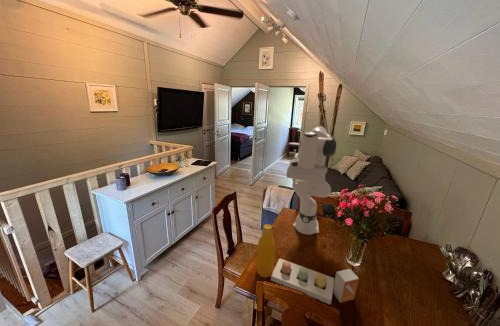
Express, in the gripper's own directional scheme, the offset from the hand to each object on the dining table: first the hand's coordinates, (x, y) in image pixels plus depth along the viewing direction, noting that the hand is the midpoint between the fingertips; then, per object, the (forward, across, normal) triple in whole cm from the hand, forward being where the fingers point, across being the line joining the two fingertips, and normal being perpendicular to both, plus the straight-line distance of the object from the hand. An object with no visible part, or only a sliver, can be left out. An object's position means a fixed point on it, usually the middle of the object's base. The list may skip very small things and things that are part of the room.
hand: (304, 187), depth 114 cm
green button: (+43, -6, +17) cm, 47 cm away
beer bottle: (+46, +14, +18) cm, 52 cm away
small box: (+46, -26, +18) cm, 56 cm away
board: (+46, -6, +17) cm, 49 cm away
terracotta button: (+44, +3, +16) cm, 46 cm away
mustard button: (+44, -15, +18) cm, 49 cm away
